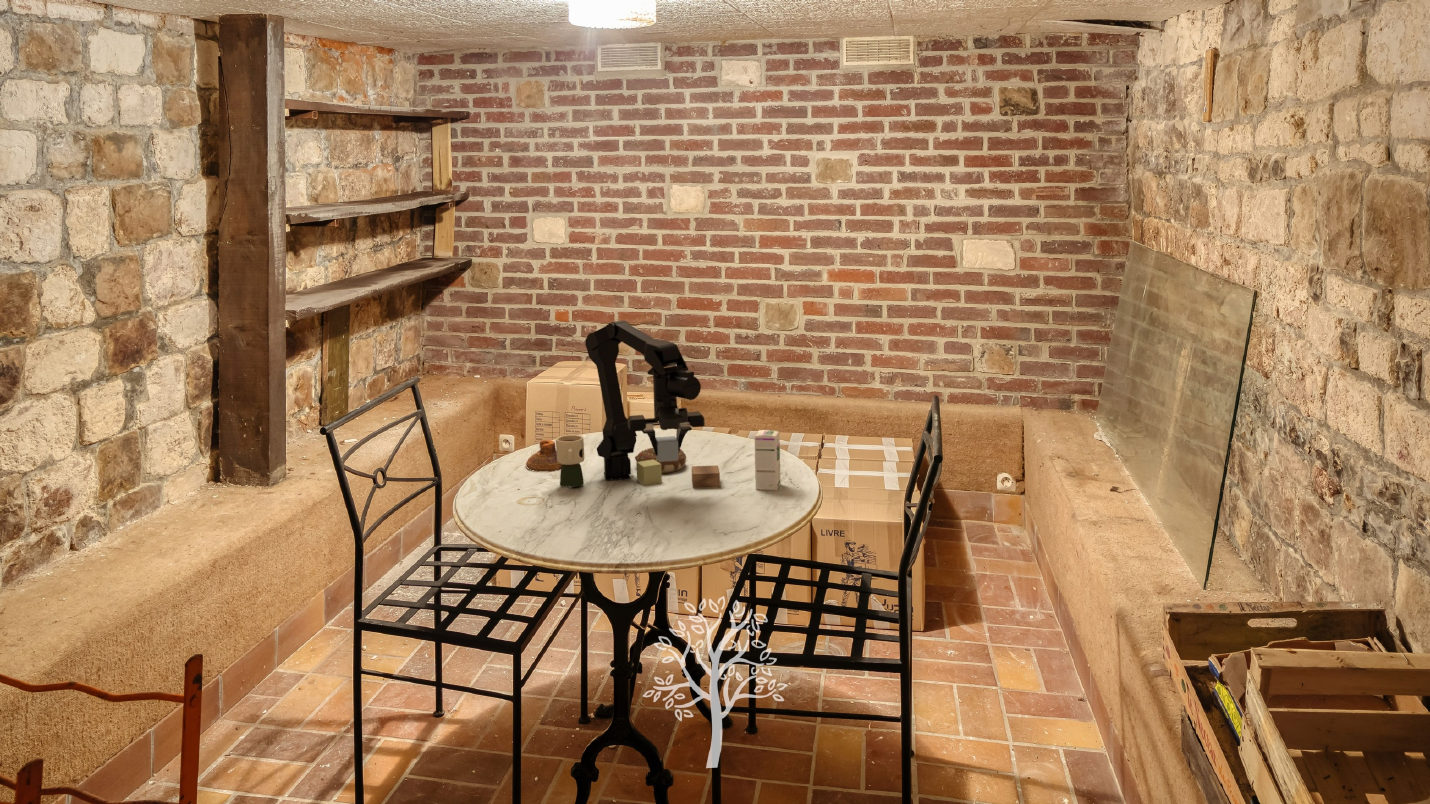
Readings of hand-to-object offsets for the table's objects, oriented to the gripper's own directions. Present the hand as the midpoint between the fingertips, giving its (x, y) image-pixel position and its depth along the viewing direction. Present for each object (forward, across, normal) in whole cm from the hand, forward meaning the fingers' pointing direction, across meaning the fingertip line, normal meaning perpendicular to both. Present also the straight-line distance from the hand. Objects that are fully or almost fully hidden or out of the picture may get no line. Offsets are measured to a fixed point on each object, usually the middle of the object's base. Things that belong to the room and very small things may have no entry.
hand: (666, 454), depth 254 cm
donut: (+11, +2, +24) cm, 26 cm away
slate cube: (+1, 0, 0) cm, 1 cm away
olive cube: (+10, -3, +12) cm, 16 cm away
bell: (+11, -29, +33) cm, 45 cm away
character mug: (+11, -23, +13) cm, 29 cm away
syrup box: (+11, +26, -1) cm, 28 cm away
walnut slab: (+11, +11, +6) cm, 16 cm away
